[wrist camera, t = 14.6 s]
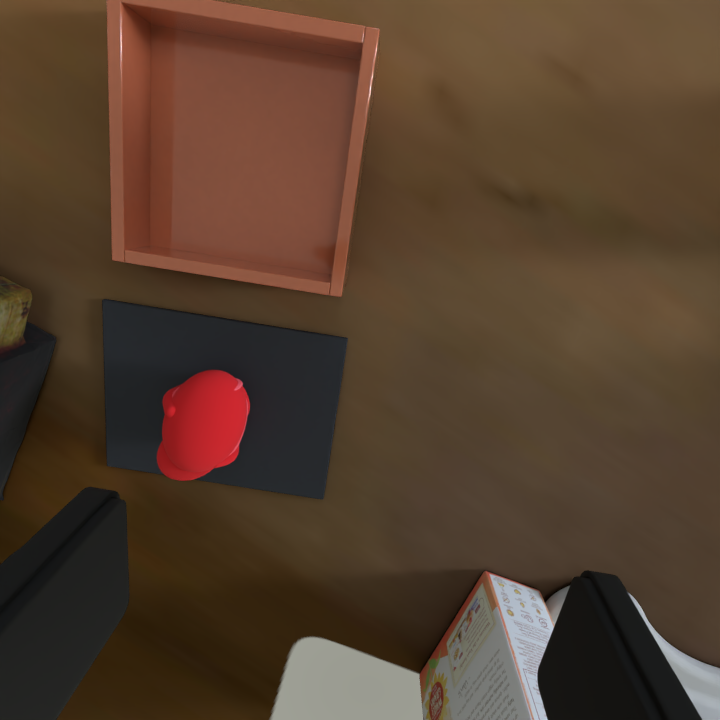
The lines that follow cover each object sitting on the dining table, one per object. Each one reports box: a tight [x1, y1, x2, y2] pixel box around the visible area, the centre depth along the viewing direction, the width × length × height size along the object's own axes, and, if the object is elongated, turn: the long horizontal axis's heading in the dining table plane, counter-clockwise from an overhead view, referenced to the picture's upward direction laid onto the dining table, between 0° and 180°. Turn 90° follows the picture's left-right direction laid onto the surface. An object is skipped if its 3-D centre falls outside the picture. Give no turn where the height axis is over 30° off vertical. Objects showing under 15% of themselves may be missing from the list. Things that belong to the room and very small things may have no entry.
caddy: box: [107, 0, 380, 297], centre depth 29 cm, size 15×15×4 cm
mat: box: [102, 299, 348, 499], centre depth 36 cm, size 18×14×1 cm
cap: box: [157, 370, 250, 481], centre depth 33 cm, size 8×6×6 cm
